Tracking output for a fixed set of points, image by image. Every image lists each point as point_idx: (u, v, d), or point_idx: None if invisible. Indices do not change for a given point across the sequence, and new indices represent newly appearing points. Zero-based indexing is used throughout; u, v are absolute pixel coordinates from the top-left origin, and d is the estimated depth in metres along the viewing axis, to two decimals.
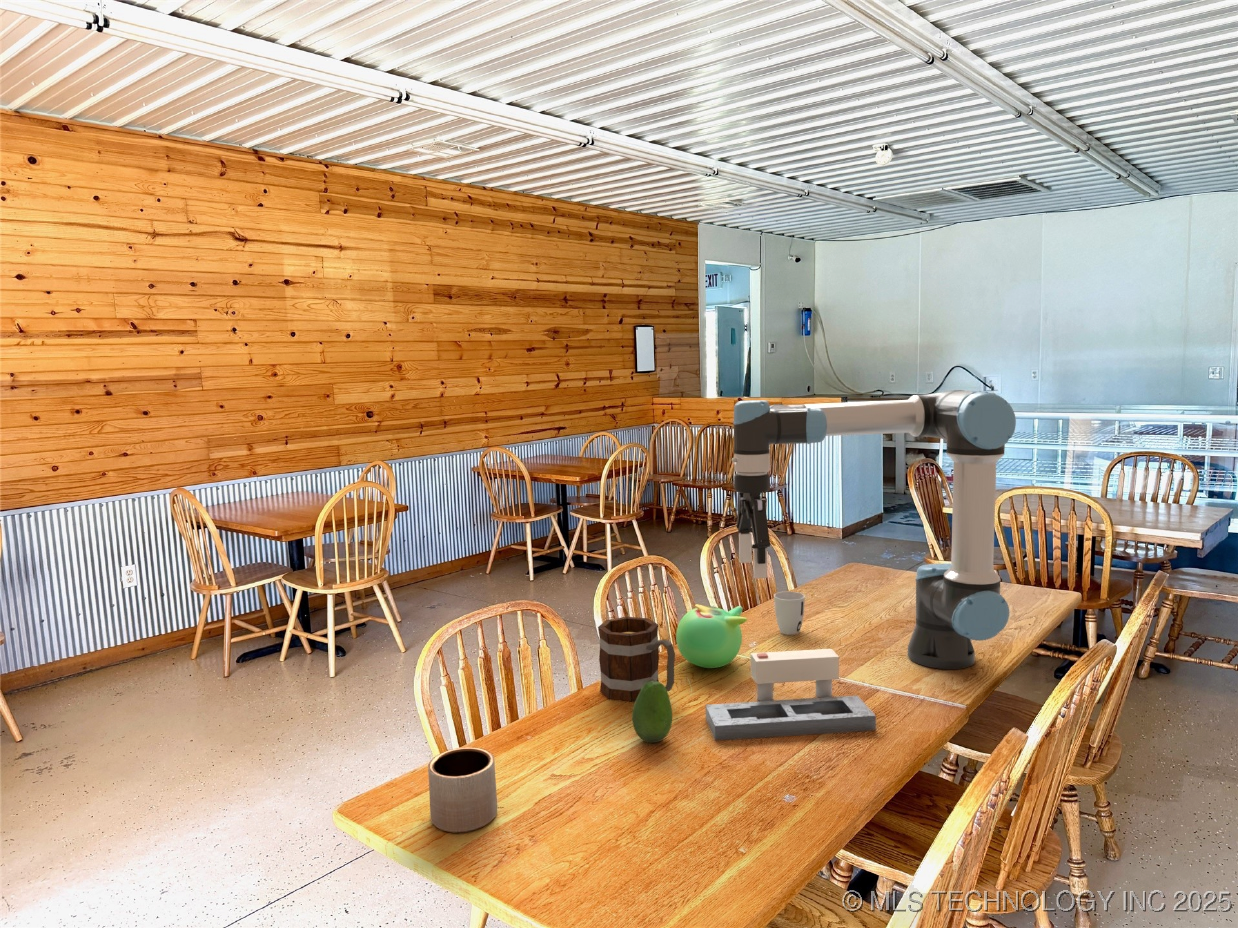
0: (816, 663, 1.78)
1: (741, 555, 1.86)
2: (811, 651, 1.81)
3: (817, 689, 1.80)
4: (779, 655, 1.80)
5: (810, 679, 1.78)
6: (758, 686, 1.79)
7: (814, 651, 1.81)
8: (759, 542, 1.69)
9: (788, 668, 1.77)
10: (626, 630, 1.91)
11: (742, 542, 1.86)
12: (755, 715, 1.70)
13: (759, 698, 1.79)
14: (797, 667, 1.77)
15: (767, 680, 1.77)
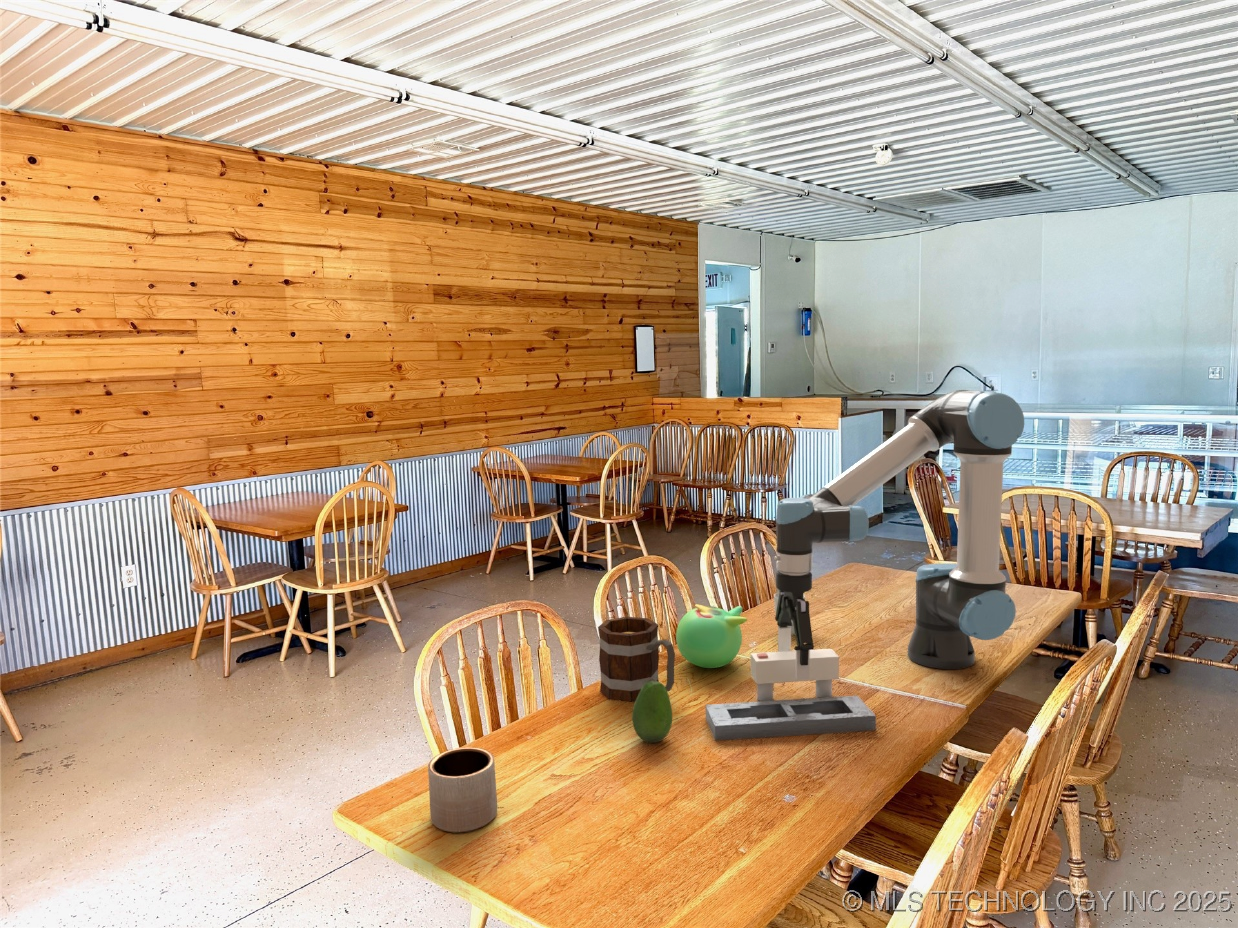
0: (816, 663, 1.78)
1: (780, 649, 1.86)
2: (811, 651, 1.81)
3: (817, 689, 1.80)
4: (779, 655, 1.80)
5: (810, 679, 1.78)
6: (758, 686, 1.79)
7: (814, 651, 1.81)
8: (803, 645, 1.69)
9: (788, 668, 1.77)
10: (626, 630, 1.91)
11: (781, 636, 1.86)
12: (755, 715, 1.70)
13: (759, 698, 1.79)
14: None
15: (767, 680, 1.77)
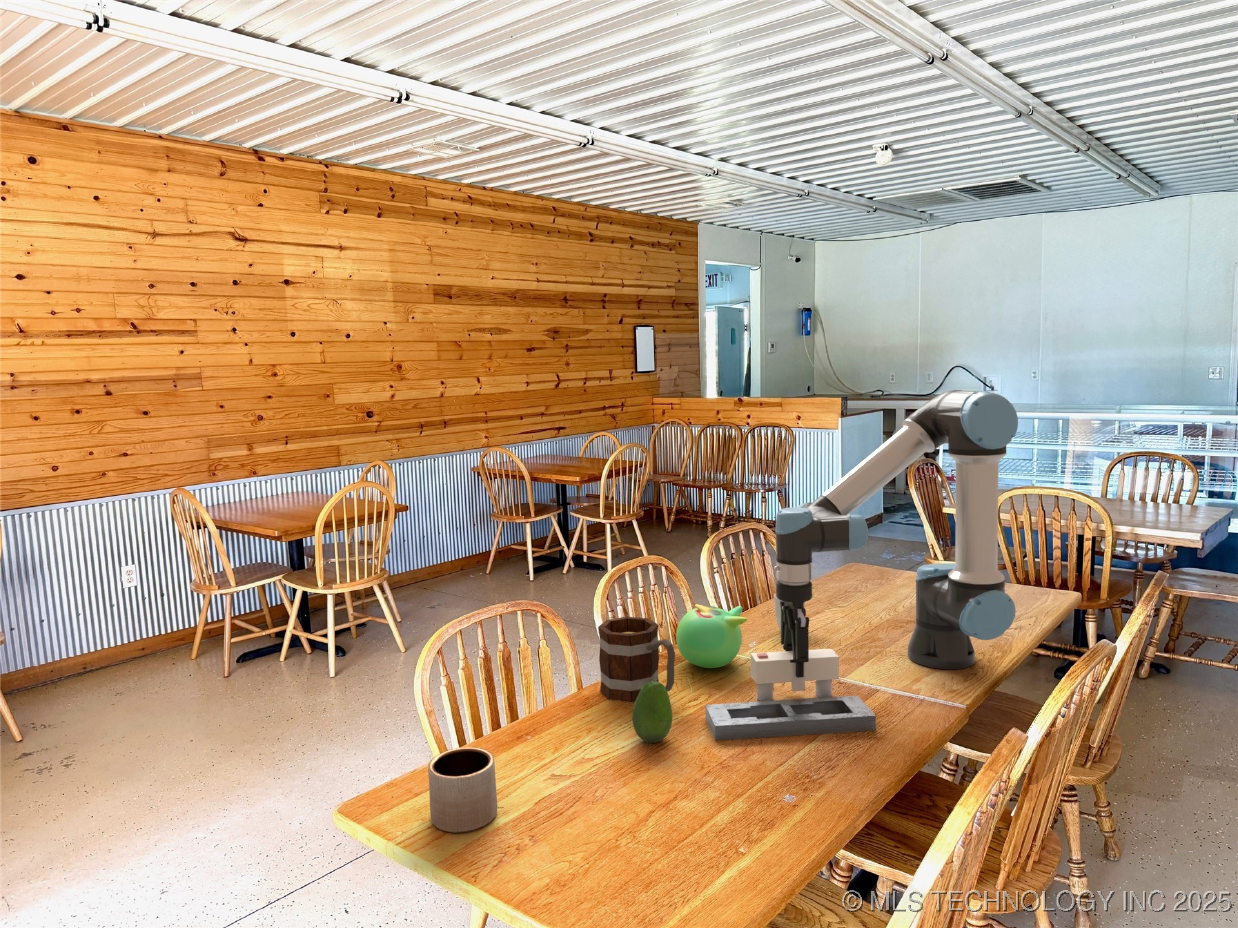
0: (816, 663, 1.78)
1: None
2: (811, 651, 1.81)
3: (817, 689, 1.80)
4: (779, 655, 1.80)
5: (810, 679, 1.78)
6: (758, 686, 1.79)
7: (814, 651, 1.81)
8: (798, 658, 1.74)
9: (788, 668, 1.77)
10: (626, 630, 1.91)
11: None
12: (755, 715, 1.70)
13: (759, 698, 1.79)
14: None
15: (767, 680, 1.77)
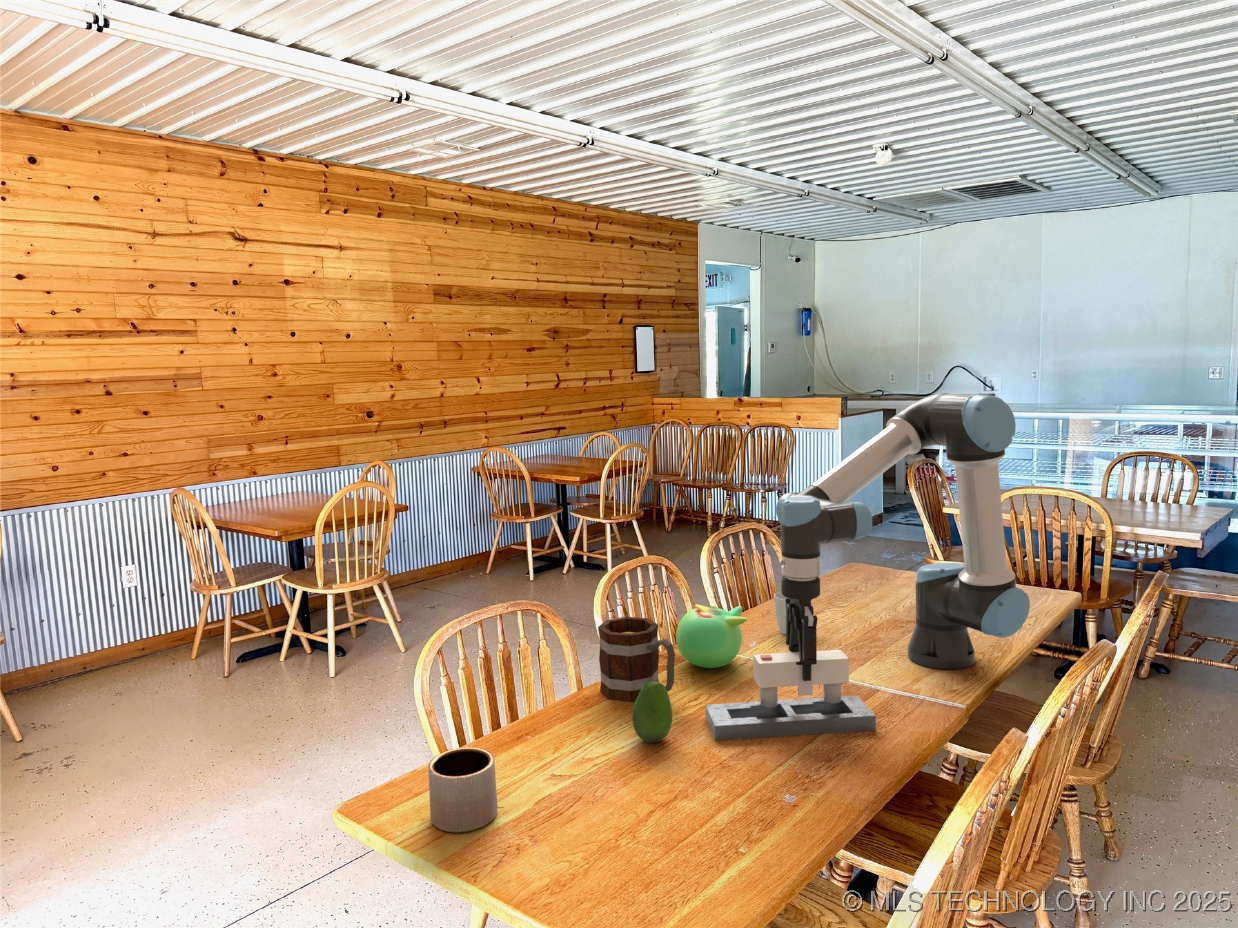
0: (824, 665, 1.64)
1: None
2: (819, 652, 1.68)
3: (825, 693, 1.67)
4: (783, 657, 1.66)
5: (818, 683, 1.64)
6: (761, 690, 1.66)
7: (822, 652, 1.68)
8: (805, 660, 1.60)
9: (793, 670, 1.64)
10: (626, 630, 1.91)
11: None
12: (755, 715, 1.70)
13: (762, 703, 1.66)
14: None
15: (771, 684, 1.64)
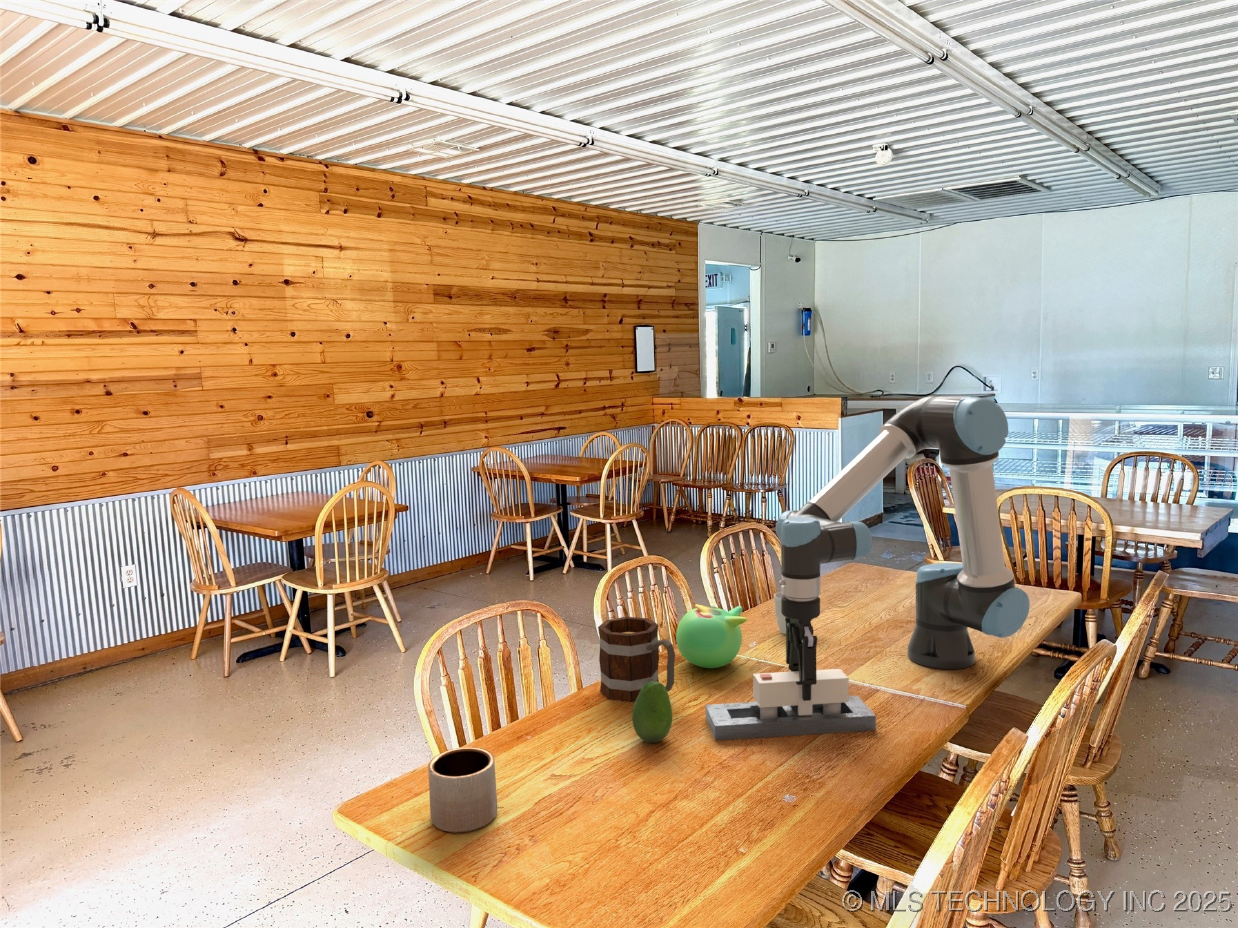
0: (823, 684, 1.65)
1: None
2: (818, 671, 1.68)
3: (825, 713, 1.67)
4: (783, 676, 1.67)
5: (817, 702, 1.65)
6: (761, 709, 1.66)
7: (822, 671, 1.68)
8: (805, 680, 1.60)
9: (793, 690, 1.64)
10: (626, 630, 1.91)
11: None
12: (755, 715, 1.70)
13: None
14: None
15: (771, 703, 1.64)
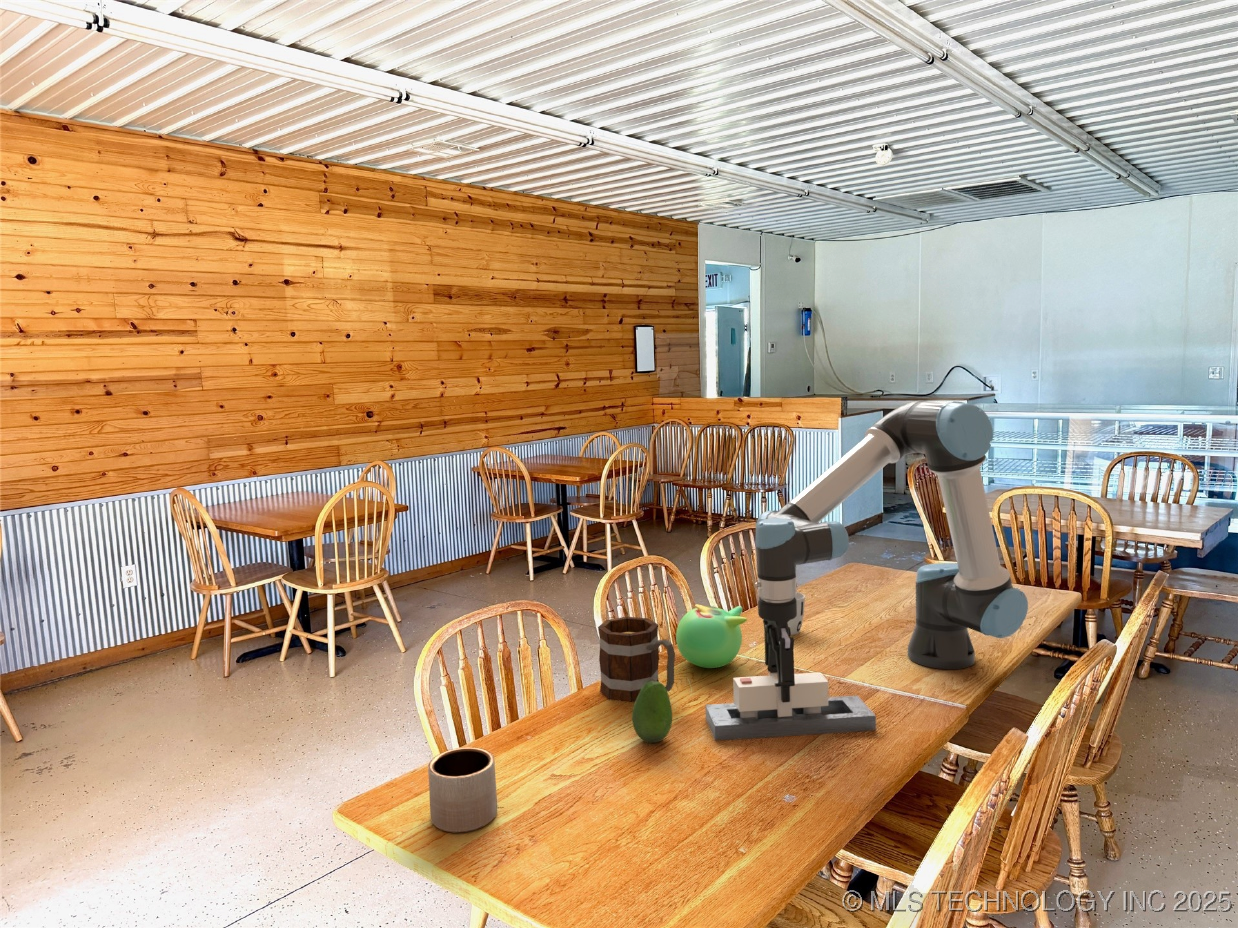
0: (803, 688, 1.64)
1: None
2: (798, 675, 1.68)
3: None
4: (763, 680, 1.66)
5: (797, 706, 1.65)
6: (741, 714, 1.66)
7: (802, 675, 1.68)
8: (783, 682, 1.60)
9: (773, 694, 1.64)
10: (626, 630, 1.91)
11: None
12: None
13: None
14: None
15: (751, 707, 1.64)
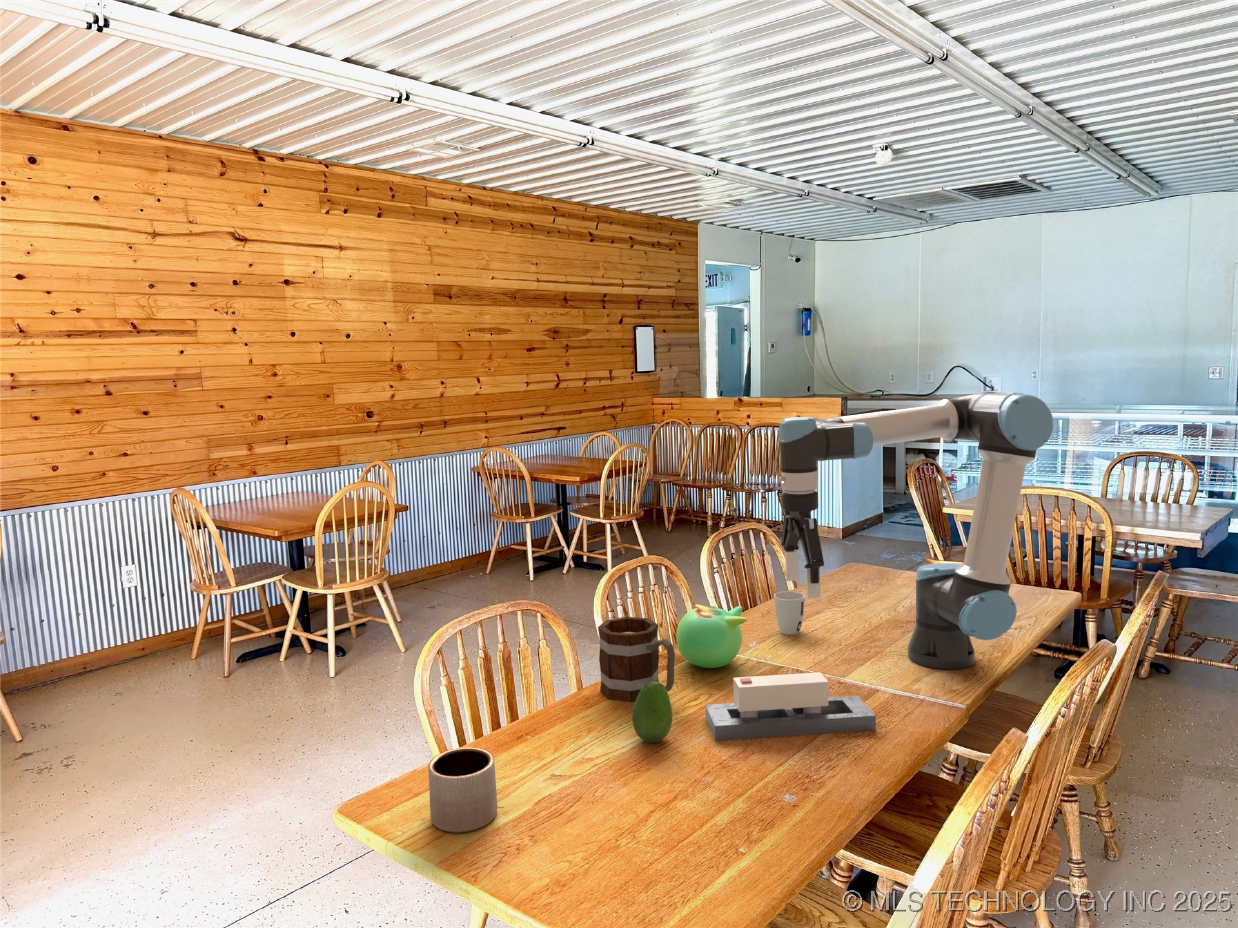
0: (803, 688, 1.64)
1: (788, 573, 1.84)
2: (798, 675, 1.68)
3: None
4: (763, 680, 1.66)
5: (797, 706, 1.65)
6: (741, 714, 1.66)
7: (802, 675, 1.68)
8: (813, 562, 1.67)
9: (773, 694, 1.64)
10: (626, 630, 1.91)
11: (789, 560, 1.84)
12: None
13: None
14: (783, 693, 1.64)
15: (751, 707, 1.64)
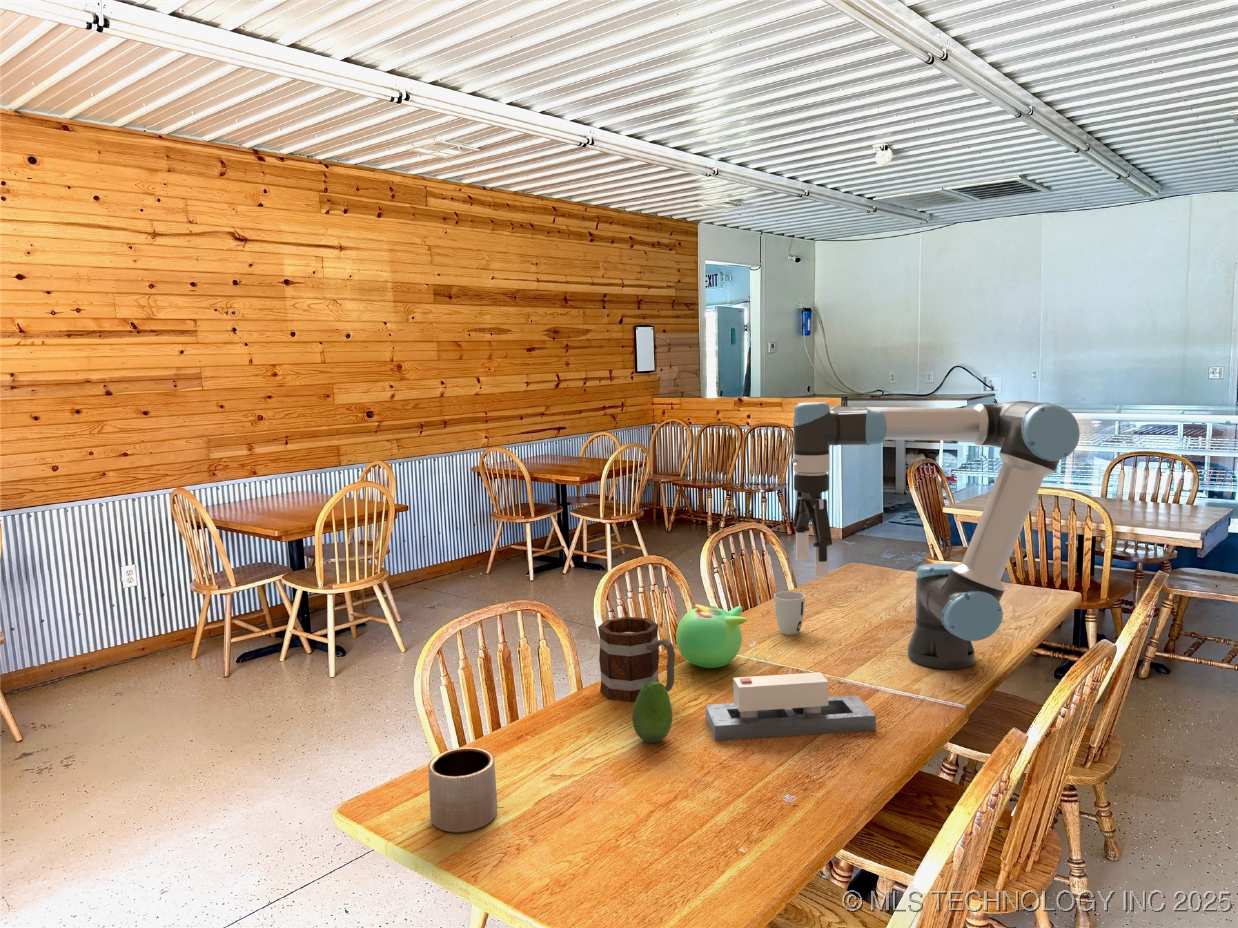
0: (803, 688, 1.64)
1: (798, 553, 1.91)
2: (798, 675, 1.68)
3: None
4: (763, 680, 1.66)
5: (797, 706, 1.65)
6: (741, 714, 1.66)
7: (802, 675, 1.68)
8: (821, 540, 1.74)
9: (773, 694, 1.64)
10: (626, 630, 1.91)
11: (799, 540, 1.91)
12: None
13: None
14: (783, 693, 1.64)
15: (751, 707, 1.64)
